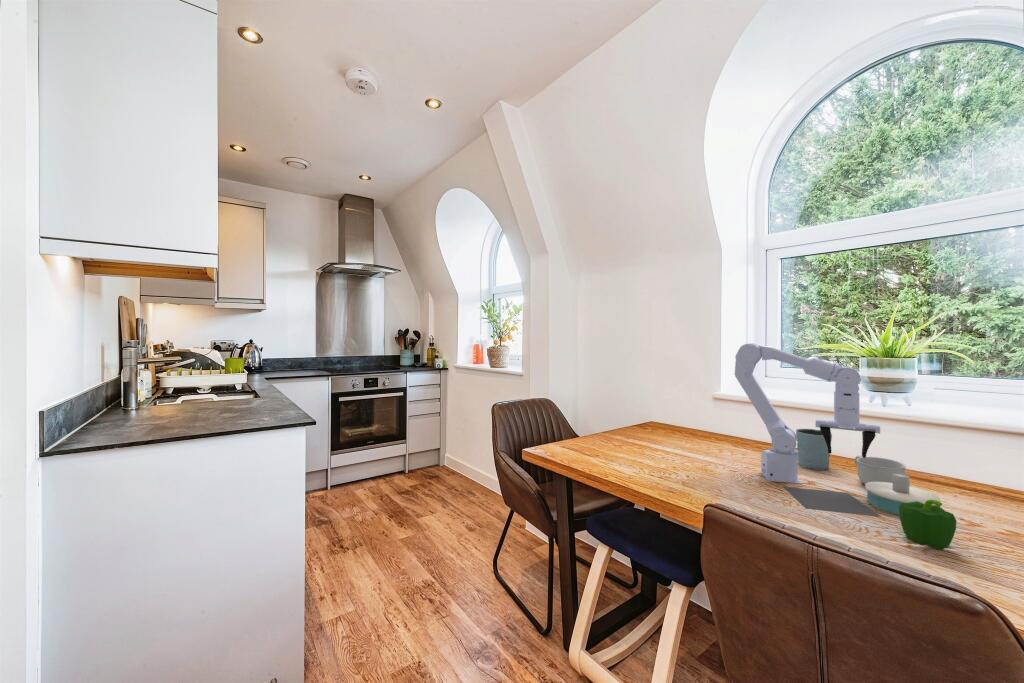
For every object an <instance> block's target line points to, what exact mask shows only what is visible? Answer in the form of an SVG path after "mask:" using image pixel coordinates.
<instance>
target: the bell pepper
mask: <svg viewBox="0 0 1024 683" xmlns="http://www.w3.org/2000/svg"><path fill="white" fill-rule="evenodd" d="M932 504H935V505H932ZM936 505H937V506H936ZM942 506H943V503H942V502H941V501H940V502H939V501H937V500H927V501H926V502H925V504H923V503H921V502H918V501H915V502H910V503H901V505H900V506H899V515H898V516H899V520H900V524H901V527H902V531H903V534H904V535H905V537H906V538H907V539H908V540H910V541H912V542H914V543H916V544H920V545H922V546H923V545H924V546H925V545H926V546H928V547H929V548H934V549H937V550H939V549H940V550H944V549H946V548H948V547H949V546H950V545H951V543H952V541H953V538H954V536H955V533H956V530H957V519H956V517H955V515H954V514H953V513H952V512H949V511H946V510H945V509H943V508H942Z"/></svg>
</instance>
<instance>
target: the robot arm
mask: <svg viewBox="0 0 1024 683" xmlns="http://www.w3.org/2000/svg"><path fill="white" fill-rule="evenodd" d="M734 358H735V364H734V376H735V378H736V381H737V382H738V383H739V385H740V386H741V388H742V389H743V391H744V393H745V394H746V396H747V397H748V399H749V401H750V403H751V404H752V406H753V407H754V409H755V410H756V413H757V414H758V415H759V416H760V418H761V420H762V421H763V424H764V425H765V427H766V429H767V433H768V434H769V436H770V438H771V446H770V449H763V450H762V451H761V454H760V455H761V456H760V458H761V460H760V474H761V475H762V476H763V477H764V478H765V479H766V480H767V481H772V482H780V483H781V482H782V483H791V484H792V483H793V484H804V482H803V481H801V479H800V478H798V477H799V476H798V475H799V463H798V451H797V450H798V449H796V448H797V436H796V431H794V430H793V429H791V428H790V427H789V426H788V425H787V424H786V423H785V421H784V420H783V419H782V418H781V416H780V415H779V414H778V412H777V411H776V408H774V405H773V404H772V403H771V401H770V400H769V398H768V396H767V394H766V393H765V392H764V390H763V389H762V387H761V385H760V384H759V382H758V381H757V379H756V378H755V376H754V375H753V374H754V370H755V368H756V365H757V364H758V362H760V360H762V361H769V360H774V361H778V362H781V363H785V364H787V365H791V366H793V367H798V368H801V369H802V370H803V371H804V373H805V374H806V375H809V376H812V377H814V378H818V379H821V380H824V381H826V382H831V383H832V382H835V383H834V385H835V386H834V392H833V396H834V397H833V398H834V399H833V420H821V419H815V424H814V425H815V428H819V430H820V431H821V433H822V434H823V436H824V439H825V441H826V444H827V447H828V453H830V454H832V440H831V434H832V431H831V430H832V429H835V430H845V431H855V432H861V433H862V434H861V435H862V436H861V437H862V438H861V439H862V446H861V447H862V448H861V456H862V457H863V458H866V457H867V453H868V451H869V448H870V446H871V444H872V442H873V441H874V440H875V438H876V434H881V426H880V425H876V424H875V425H874V424H868V423H867V424H866V423H860V392H859V390H860V385H859V384H860V383H861V381H862V378H861V375H860V373H859V371H857V370H856V369H855V368H852V367H850V366H848V365H847V366H846V365H844V363H841V362H838V363H836V362H834V361H830V360H826V359H824V356H821V355H818V356H814V355H813V356H810V357H808V358H805V357H804V356H803V357H801V356H799V355H796V354H793V353H790V352H787V351H785V350H781V349H779V348H776V347H773V346H767V345H762V344H758V343H745V344H742V345H741V346H740V347H739V348H738V350H737V352H736V354H735V357H734Z"/></svg>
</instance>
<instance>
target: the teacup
mask: <svg viewBox="0 0 1024 683" xmlns="http://www.w3.org/2000/svg"><path fill="white" fill-rule="evenodd" d="M854 464H855V466H856V468H857V477H858V479H859V480H860V482H861V483H863V484H864V485H865V484H866V483H868V482H888V483H892V480H893V474H902V475H906V468H907V467H906V466H907V465H906V464H905V463H903V462H901V461H898V460H895V459H890V458H886V457H885V458H884V457H877V456H876V457H875V456H866V458H863V457H862V455H857V456H855V457H854Z"/></svg>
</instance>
